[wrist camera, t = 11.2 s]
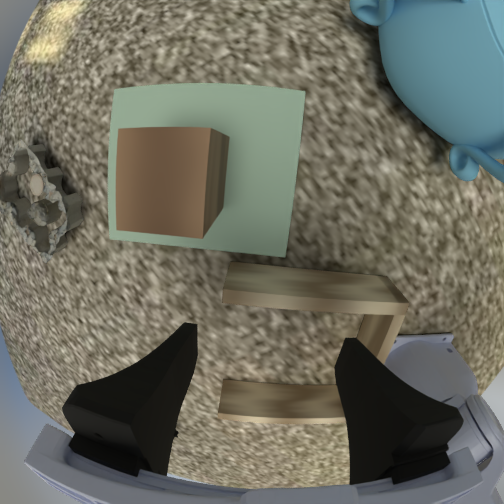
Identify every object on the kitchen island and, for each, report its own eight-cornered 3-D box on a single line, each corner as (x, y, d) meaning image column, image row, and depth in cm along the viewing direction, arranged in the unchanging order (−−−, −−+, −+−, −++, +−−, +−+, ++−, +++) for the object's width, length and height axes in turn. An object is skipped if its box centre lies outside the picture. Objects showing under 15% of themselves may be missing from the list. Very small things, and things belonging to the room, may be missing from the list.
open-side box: (386, 276, 21) (409, 303, 17) (343, 390, 26) (351, 421, 22) (230, 261, 21) (222, 289, 17) (223, 385, 26) (217, 418, 22)
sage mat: (304, 93, 16) (305, 91, 16) (284, 254, 21) (285, 257, 20) (118, 90, 16) (114, 89, 16) (113, 236, 21) (109, 239, 20)
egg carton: (12, 183, 19) (-15, 190, 16) (43, 130, 18) (14, 131, 14) (58, 259, 22) (34, 275, 18) (96, 212, 20) (68, 224, 16)
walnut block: (229, 136, 17) (210, 127, 11) (223, 208, 19) (202, 238, 12) (166, 134, 17) (118, 128, 11) (162, 203, 19) (116, 230, 12)
